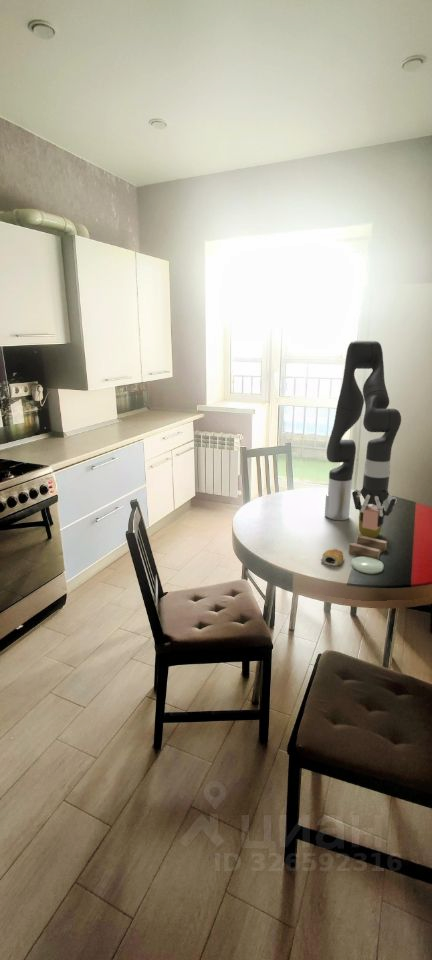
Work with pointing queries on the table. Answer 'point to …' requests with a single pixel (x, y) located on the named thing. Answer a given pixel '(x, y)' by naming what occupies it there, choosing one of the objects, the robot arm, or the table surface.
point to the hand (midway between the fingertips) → (371, 524)
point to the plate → (367, 565)
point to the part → (370, 518)
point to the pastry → (332, 557)
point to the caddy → (368, 547)
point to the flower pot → (368, 530)
